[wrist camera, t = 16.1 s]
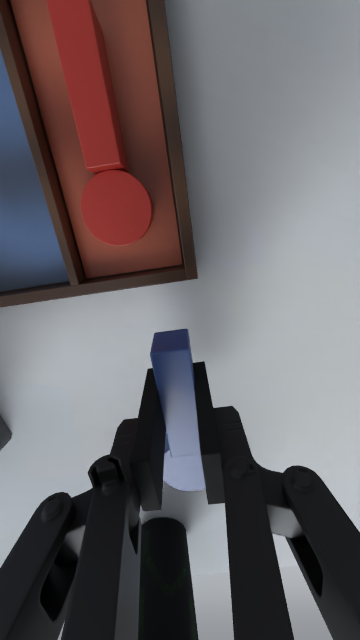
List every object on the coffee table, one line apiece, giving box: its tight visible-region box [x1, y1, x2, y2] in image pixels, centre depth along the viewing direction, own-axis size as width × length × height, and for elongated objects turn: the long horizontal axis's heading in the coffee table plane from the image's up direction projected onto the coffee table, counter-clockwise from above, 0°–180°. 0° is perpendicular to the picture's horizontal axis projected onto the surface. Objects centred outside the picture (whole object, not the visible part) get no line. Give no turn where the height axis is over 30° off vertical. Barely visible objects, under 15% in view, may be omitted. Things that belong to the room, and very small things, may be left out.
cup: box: [138, 518, 198, 640], centre depth 25 cm, size 8×8×12 cm
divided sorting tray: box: [0, 0, 198, 307], centre depth 16 cm, size 18×17×2 cm
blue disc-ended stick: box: [150, 329, 206, 491], centre depth 16 cm, size 11×4×3 cm, turn 8°
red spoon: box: [47, 0, 153, 246], centre depth 15 cm, size 11×4×3 cm, turn 8°
